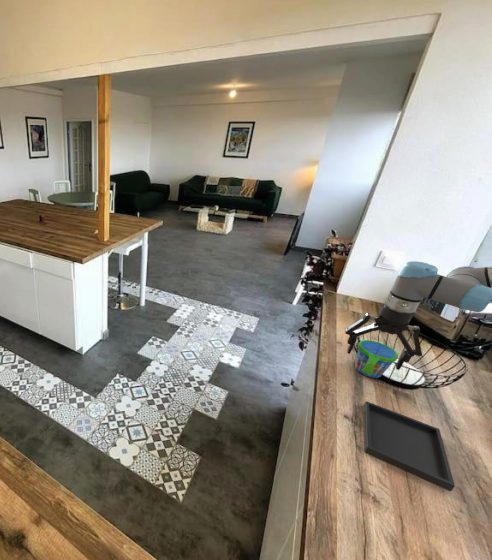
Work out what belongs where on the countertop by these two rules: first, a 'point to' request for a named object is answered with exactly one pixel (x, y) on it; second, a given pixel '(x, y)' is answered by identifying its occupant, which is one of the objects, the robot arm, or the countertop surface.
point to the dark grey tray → (406, 444)
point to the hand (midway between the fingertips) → (372, 359)
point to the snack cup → (374, 358)
